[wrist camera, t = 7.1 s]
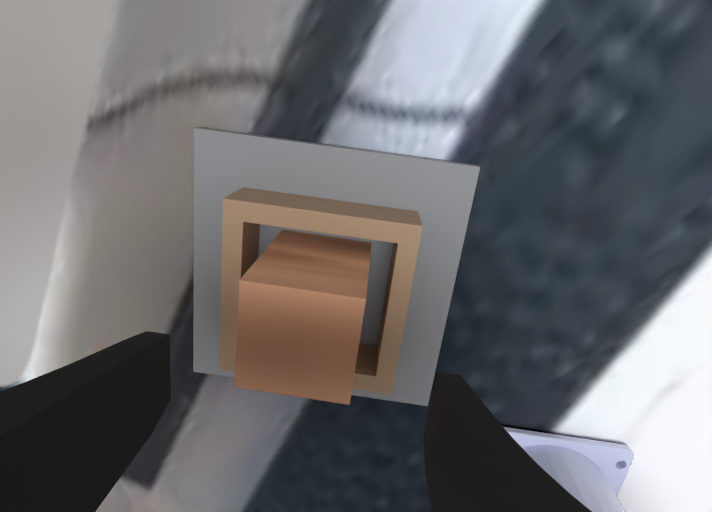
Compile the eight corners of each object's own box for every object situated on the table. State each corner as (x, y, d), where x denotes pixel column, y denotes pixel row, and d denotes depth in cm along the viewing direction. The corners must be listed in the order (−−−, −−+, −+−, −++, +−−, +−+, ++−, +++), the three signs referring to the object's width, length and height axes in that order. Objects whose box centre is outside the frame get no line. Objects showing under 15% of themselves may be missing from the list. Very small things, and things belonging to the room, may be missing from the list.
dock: (425, 396, 22) (432, 442, 19) (199, 363, 23) (170, 403, 19) (476, 164, 18) (495, 175, 15) (201, 127, 19) (164, 130, 15)
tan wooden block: (359, 322, 20) (349, 404, 15) (276, 309, 20) (234, 387, 15) (371, 242, 19) (365, 299, 13) (282, 229, 19) (239, 280, 13)
